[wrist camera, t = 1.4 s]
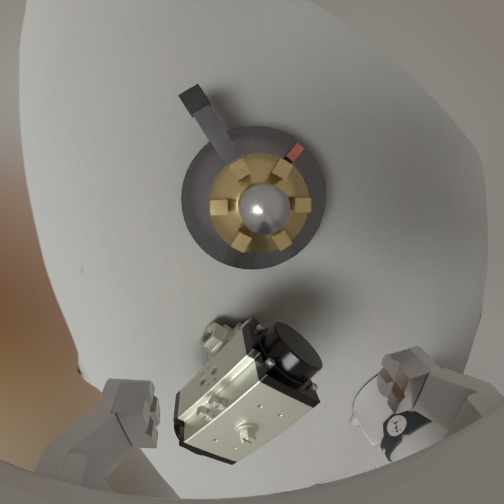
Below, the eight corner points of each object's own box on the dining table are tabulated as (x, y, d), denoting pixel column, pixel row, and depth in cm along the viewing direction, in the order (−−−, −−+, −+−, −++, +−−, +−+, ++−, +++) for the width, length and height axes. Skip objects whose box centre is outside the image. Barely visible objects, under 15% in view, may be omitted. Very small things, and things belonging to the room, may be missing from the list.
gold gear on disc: (340, 188, 35) (379, 198, 26) (261, 284, 38) (275, 322, 29) (242, 102, 31) (252, 82, 22) (157, 209, 33) (137, 227, 24)
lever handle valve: (316, 215, 33) (329, 223, 29) (240, 261, 33) (244, 275, 29) (231, 72, 27) (233, 60, 23) (149, 120, 27) (140, 115, 23)
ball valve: (249, 274, 37) (277, 363, 21) (296, 310, 40) (343, 400, 23) (170, 362, 40) (157, 460, 23) (216, 387, 43) (222, 482, 26)
